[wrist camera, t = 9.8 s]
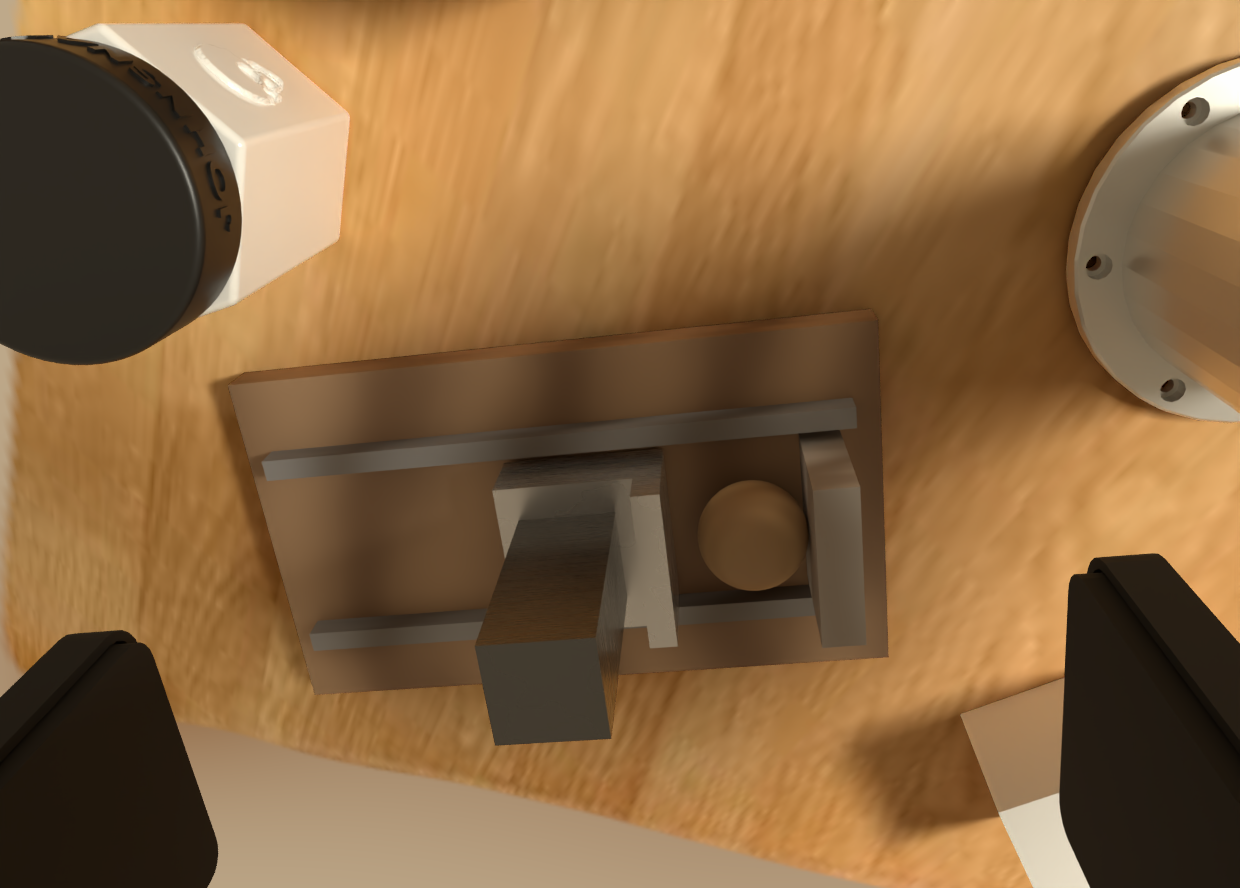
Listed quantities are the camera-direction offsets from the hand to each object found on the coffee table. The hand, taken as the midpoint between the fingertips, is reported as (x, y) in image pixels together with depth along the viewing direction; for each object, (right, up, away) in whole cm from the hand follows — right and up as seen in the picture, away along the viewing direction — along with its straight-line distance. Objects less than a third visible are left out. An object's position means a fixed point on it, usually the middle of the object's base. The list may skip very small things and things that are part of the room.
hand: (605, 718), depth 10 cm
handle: (-1, 0, +29) cm, 29 cm away
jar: (-14, +13, +26) cm, 32 cm away
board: (-2, 0, +31) cm, 31 cm away
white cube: (+19, -10, +34) cm, 40 cm away
